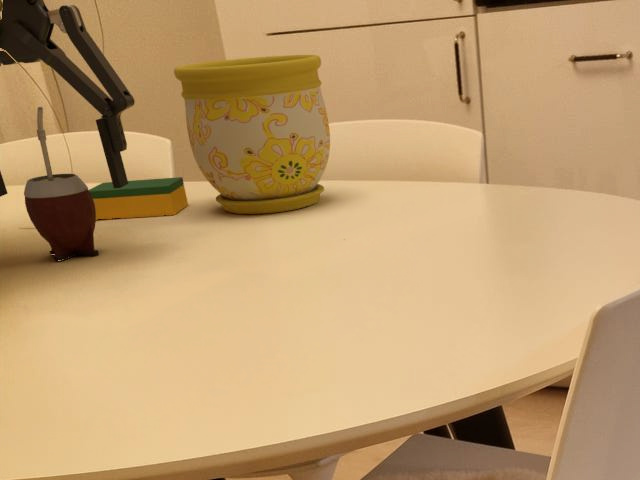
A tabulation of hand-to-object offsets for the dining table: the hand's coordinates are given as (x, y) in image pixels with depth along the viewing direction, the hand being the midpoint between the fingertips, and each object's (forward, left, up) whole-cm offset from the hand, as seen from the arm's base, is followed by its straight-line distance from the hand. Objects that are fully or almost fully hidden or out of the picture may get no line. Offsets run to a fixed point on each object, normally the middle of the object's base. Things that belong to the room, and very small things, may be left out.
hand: (60, 191), depth 103 cm
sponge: (0, +25, -7) cm, 26 cm away
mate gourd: (0, 0, -7) cm, 7 cm away
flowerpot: (+18, +24, -7) cm, 31 cm away
